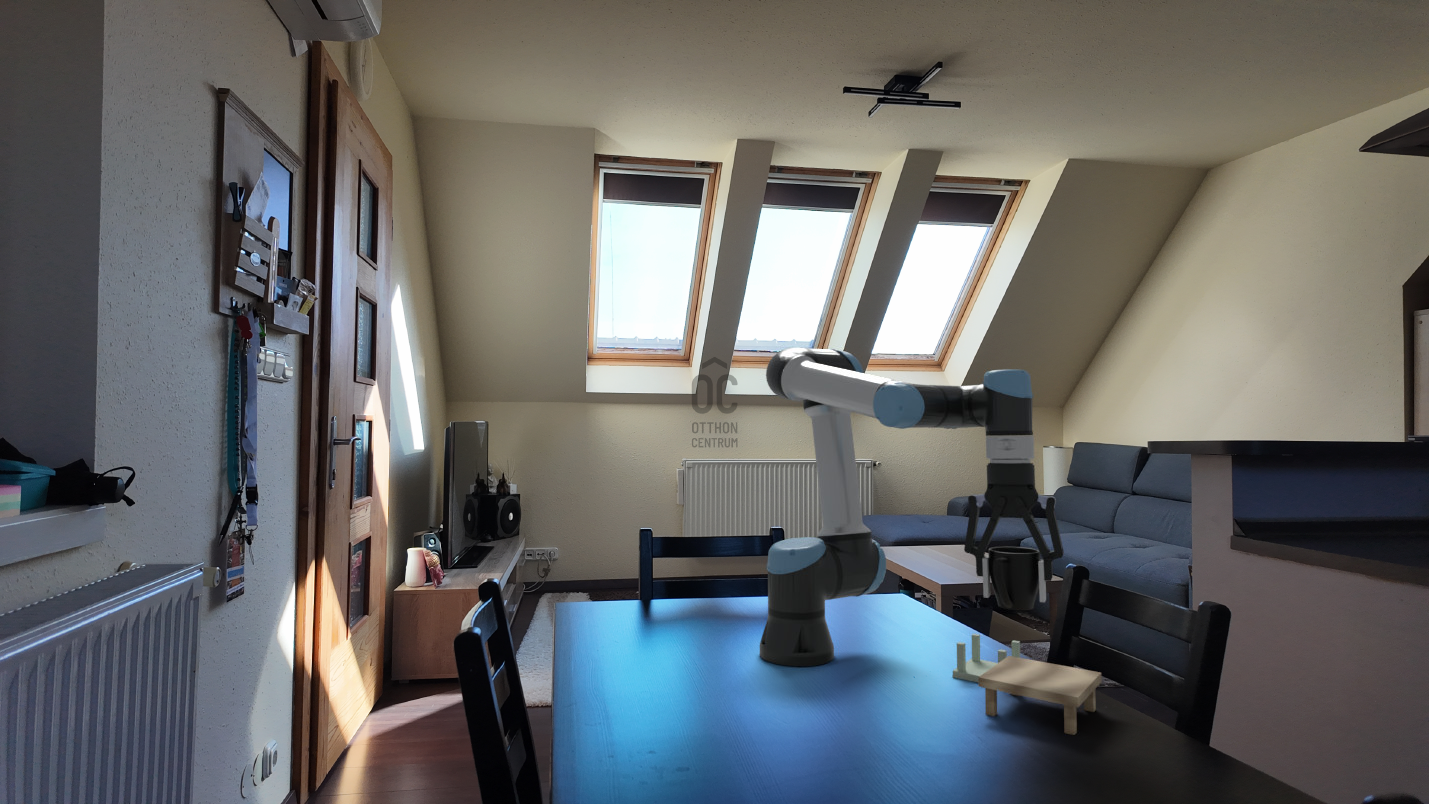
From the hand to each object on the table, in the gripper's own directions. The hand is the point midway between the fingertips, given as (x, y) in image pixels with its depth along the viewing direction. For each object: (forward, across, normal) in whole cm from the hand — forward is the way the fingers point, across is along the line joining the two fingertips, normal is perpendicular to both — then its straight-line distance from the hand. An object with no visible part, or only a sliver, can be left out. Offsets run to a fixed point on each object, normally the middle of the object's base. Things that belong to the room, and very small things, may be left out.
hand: (1014, 598), depth 127 cm
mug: (+2, -1, 0) cm, 2 cm away
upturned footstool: (+18, -7, +16) cm, 25 cm away
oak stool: (+18, +4, 0) cm, 18 cm away
